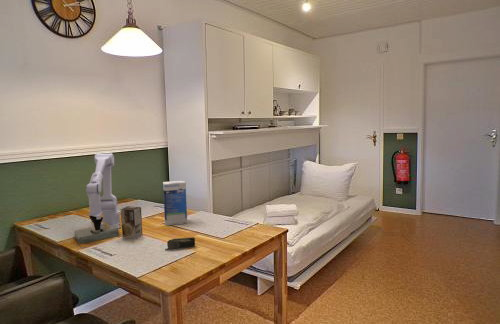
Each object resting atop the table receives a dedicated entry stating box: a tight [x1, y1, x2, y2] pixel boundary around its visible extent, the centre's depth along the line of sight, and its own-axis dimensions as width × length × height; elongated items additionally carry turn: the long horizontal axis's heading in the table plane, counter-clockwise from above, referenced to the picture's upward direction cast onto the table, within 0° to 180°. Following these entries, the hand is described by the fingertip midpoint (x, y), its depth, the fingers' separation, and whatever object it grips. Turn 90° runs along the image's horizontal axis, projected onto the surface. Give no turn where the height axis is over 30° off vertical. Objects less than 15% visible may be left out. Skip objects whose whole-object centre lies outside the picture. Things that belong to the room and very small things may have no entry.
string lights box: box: [162, 180, 188, 226], centre depth 211 cm, size 13×8×26 cm, turn 108°
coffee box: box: [120, 205, 143, 240], centre depth 188 cm, size 9×6×16 cm
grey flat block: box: [73, 224, 120, 245], centre depth 190 cm, size 20×14×4 cm
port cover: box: [102, 222, 122, 231], centre depth 193 cm, size 8×8×3 cm
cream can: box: [90, 221, 100, 233], centre depth 188 cm, size 4×4×7 cm
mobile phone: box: [164, 237, 196, 251], centre depth 171 cm, size 5×3×15 cm
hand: (96, 229), depth 188 cm, fingers closed on cream can, 4 cm apart
